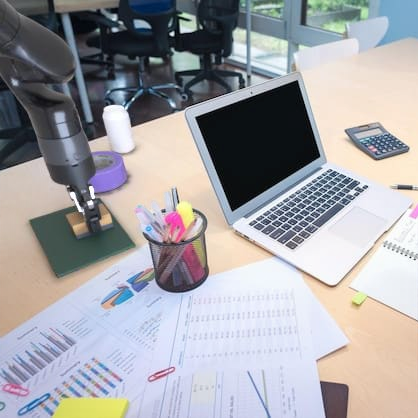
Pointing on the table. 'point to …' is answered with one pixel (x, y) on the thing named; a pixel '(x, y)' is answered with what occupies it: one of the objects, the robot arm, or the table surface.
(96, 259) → the chalkboard
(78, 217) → the eraser
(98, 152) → the tape roll
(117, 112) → the beverage can
